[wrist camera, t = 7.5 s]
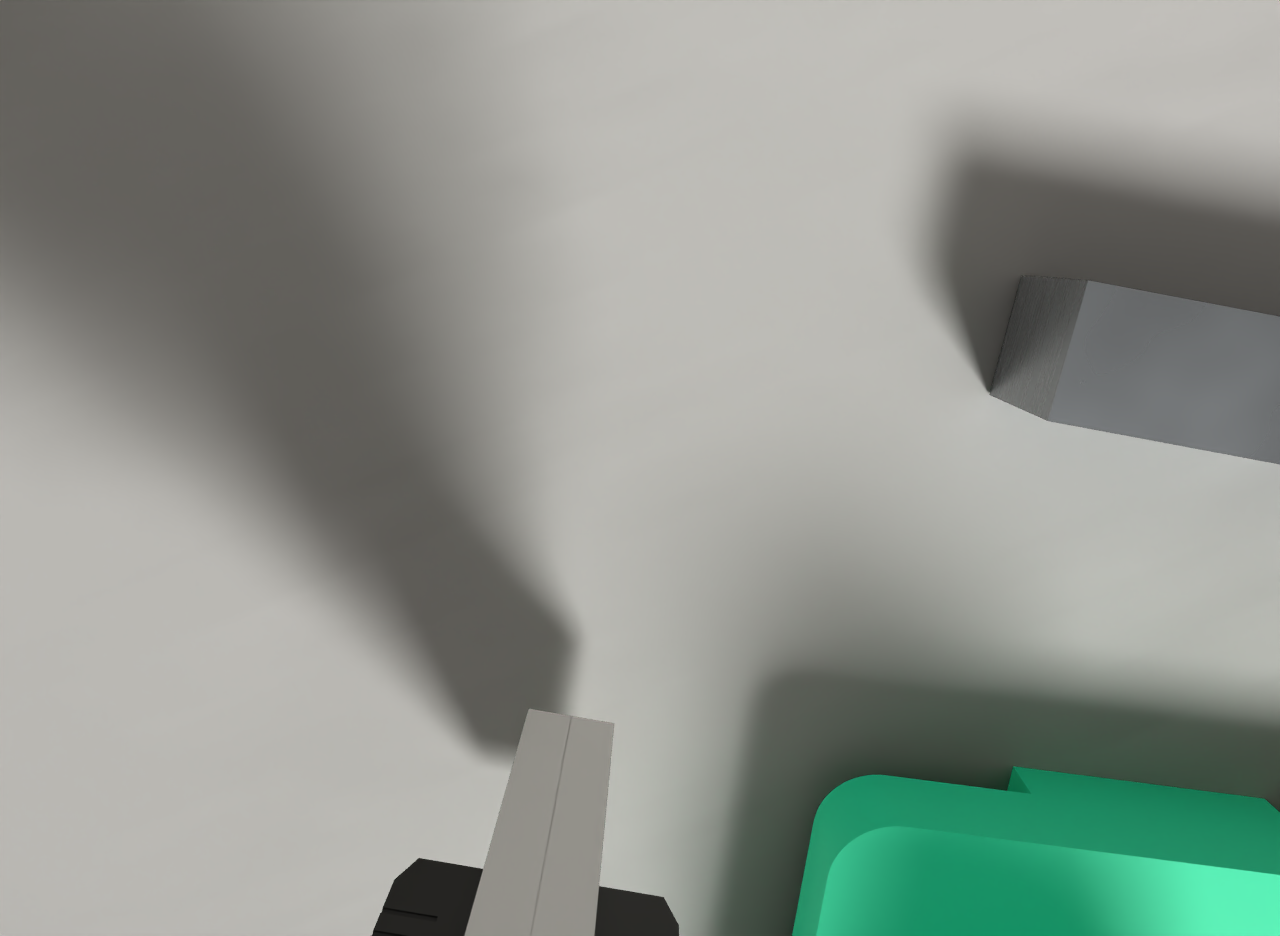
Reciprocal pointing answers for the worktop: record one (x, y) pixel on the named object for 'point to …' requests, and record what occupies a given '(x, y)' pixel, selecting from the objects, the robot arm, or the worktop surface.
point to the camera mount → (1039, 860)
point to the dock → (1144, 366)
